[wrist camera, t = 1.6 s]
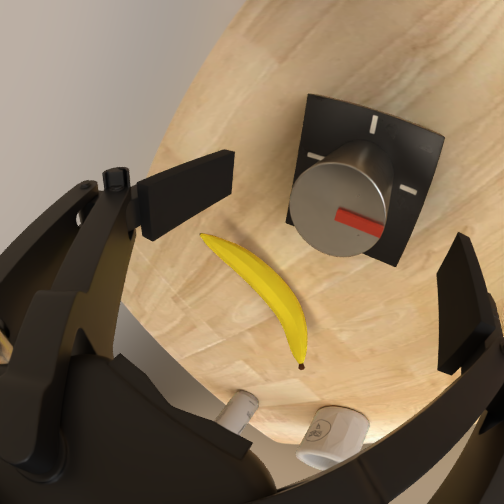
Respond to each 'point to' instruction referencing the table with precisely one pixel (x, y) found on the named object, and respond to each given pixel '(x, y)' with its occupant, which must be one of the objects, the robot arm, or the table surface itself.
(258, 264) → the banana
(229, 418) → the energy drink can
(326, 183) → the stove knob
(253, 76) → the table surface
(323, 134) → the stove panel
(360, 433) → the mug
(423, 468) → the robot arm
